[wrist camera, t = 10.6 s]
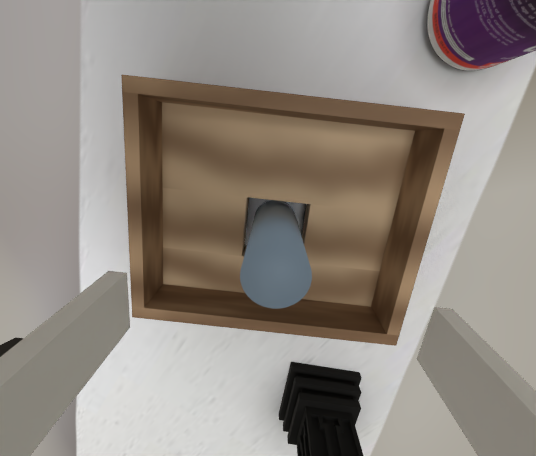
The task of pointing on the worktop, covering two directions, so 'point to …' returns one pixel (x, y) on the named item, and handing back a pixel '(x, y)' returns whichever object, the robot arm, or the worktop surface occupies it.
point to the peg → (275, 258)
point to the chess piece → (321, 410)
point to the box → (281, 189)
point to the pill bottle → (481, 31)
